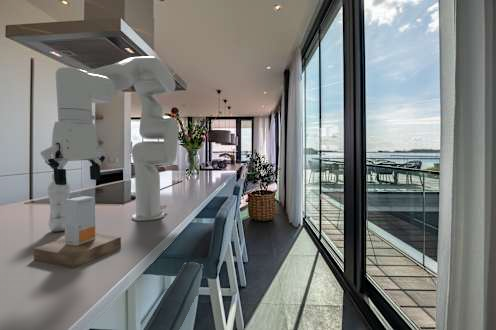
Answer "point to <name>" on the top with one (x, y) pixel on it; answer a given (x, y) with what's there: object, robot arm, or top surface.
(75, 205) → the skincare box
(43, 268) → the top surface
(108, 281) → the top surface
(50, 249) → the walnut base
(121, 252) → the top surface
